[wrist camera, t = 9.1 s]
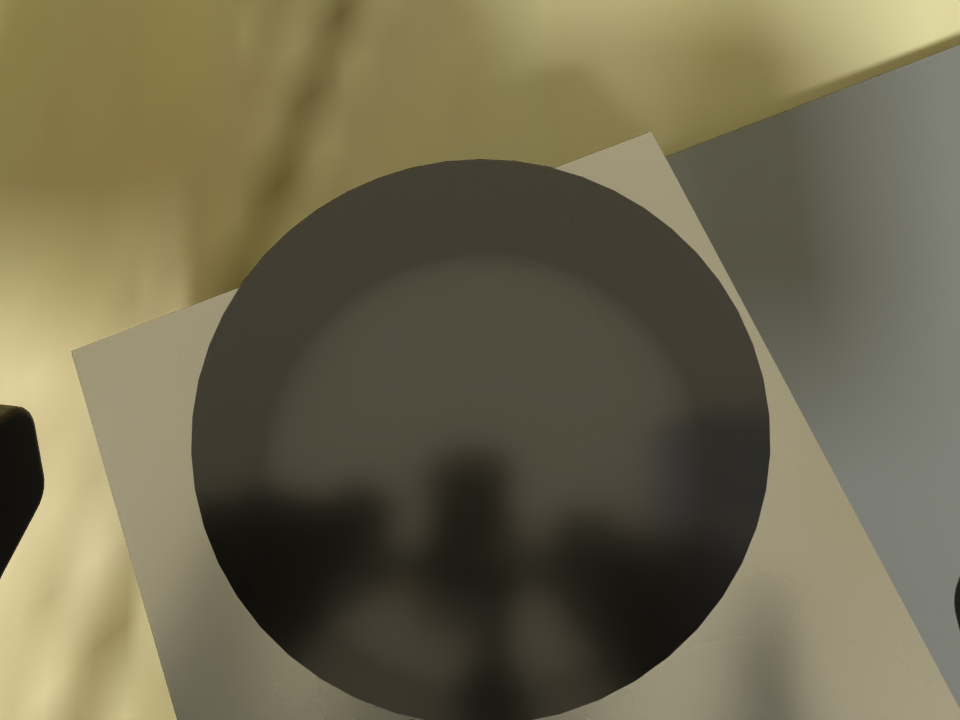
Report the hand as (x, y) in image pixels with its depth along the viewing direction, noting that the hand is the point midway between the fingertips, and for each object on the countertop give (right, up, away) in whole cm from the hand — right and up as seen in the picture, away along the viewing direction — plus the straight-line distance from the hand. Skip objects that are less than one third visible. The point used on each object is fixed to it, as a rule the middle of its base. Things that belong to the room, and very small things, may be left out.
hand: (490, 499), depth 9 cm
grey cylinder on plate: (0, -2, +8) cm, 8 cm away
